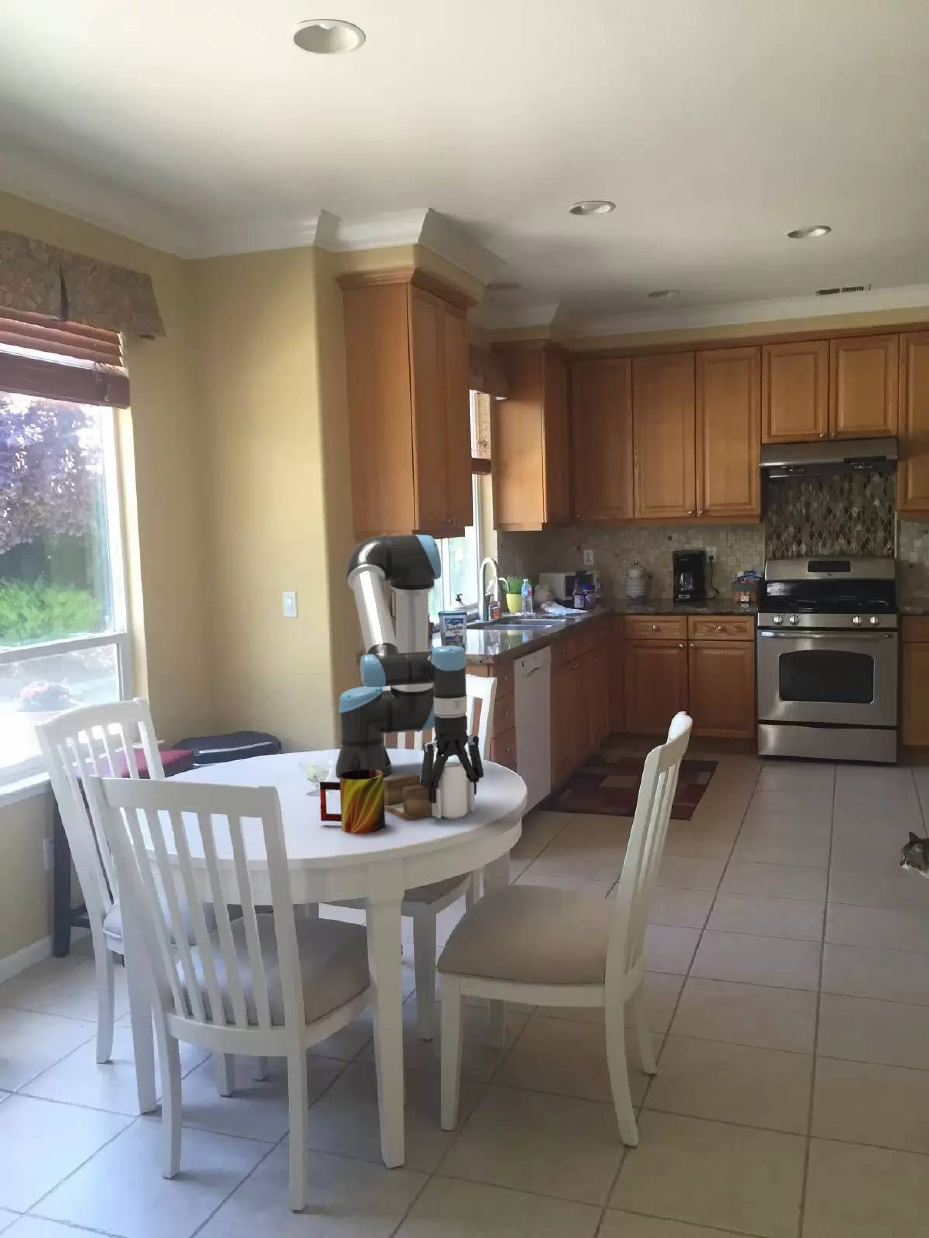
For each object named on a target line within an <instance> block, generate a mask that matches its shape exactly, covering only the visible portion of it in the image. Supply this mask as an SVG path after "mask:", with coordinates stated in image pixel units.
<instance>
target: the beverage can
mask: <svg viewBox="0 0 929 1238" xmlns="http://www.w3.org/2000/svg"><path fill="white" fill-rule="evenodd" d="M466 781H467V776H466V771H465V769H464V768H463V764H462V763H460V762H455V761H454V762H453V761H451V762H449V761H448V762H446V763H445V766H444V769H443V772H442V775H441V778H440V781H439V789H440V793H441V817H444V818H445V819H449V820H458V819H461V818H463V817H464V816H465V815H467V814H468V809H467V791H466Z"/></svg>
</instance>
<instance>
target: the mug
mask: <svg viewBox="0 0 929 1238" xmlns="http://www.w3.org/2000/svg"><path fill="white" fill-rule="evenodd" d="M383 779H384V777H383V772H382V771H379V770H373V769H359V770H351V771H347V772H344V773H341V774H340V778H339V781H320V782H319V791H320V792H319V795H320V804H319V805H320V806H319V807H320V808H319V809H320V821H321V822H338V823H339V822H341V831H342V832H344V833H347V834H353V835H354V834H355V835H358V834H359V835H363V834H364V835H365V834H373V833H377V832H380V831H383V830H384V829H385V827H386V816H385V815H386V814H385V813H386V811H385V808H384V782H383ZM327 791H339V793H340V813H328V811H327Z"/></svg>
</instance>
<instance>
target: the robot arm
mask: <svg viewBox="0 0 929 1238" xmlns="http://www.w3.org/2000/svg"><path fill="white" fill-rule="evenodd" d="M441 577H442V560H441V555H440V551H439V547H438V543H437V541H436V540H435V538H434V537H433V536H432V535H428V534H427V535H426V534H425V535H424V534H402V535H401V534H400V535H377V536H372V537H370V538H367V539H365V540H364V541H362V542H361V543H360V544H359V545H358V546H357V547H356V548H355V549H354V551H353V552H352V553H351V555H350V557H349V559H348V563H347V567H346V579H347V583H348V587H349V588H350V589H351V590H352V591H353V594H354V599H355V600H354V601H355V604H356V609H357V614H358V619H359V623H360V630H361V634H362V638H363V644H364V648H365V655H362V656H361V657H360V660H359V661H360V662H359V672H360V680H361V683H362V685H363V686H359V687H355V688H351V689H347V690H345V691H344V692H343V693H342V694H341V695H340V697H339V708H338V712H339V719H340V720H339V722H340V723H339V724H340V725H339V726H340V727H339V728H340V751H339V753H338V757H337V759H336V760H337V761H336V764H335V776H336V777H337V778H339V779H340V774H341V773H344V772H347V771H351V770H359V769H373V770H379V771H382V772H383V778H384V777H387V776H388V775H391V774H392V773H393V768H392V762H391V759H390V755H389V754H388V750H387V749H386V745H385V734H398V733H411V732H412V733H413V732H417V733H419V732H421V731H422V732H423V731H428V730H429V731H430V730H432V729H433V728H434V729H433V730H434V734H435V737H434V739H433V741H431V742H424V743H423V744H422V748H423V759H422V765H421V766H422V767H421V774H420V785H421V786H423V787H426V788H428V791H429V802H431V803H432V815H433V816H432V817H436V818H438V819H440V818H442V815H441V793H440V789H439V788H437V786H438V783H439V781H440V778H441V775H442V772H443V769H444V766H445V763H447V762H448V760H449V758H450V757H453V756H456V757H457V758H458V760H459V763H462V764H463V768H464V769H465V771H466V791H467V811H468V810H469V811H471V812H473V811H475V807H476V805H475V796H476V795H477V793H478V789H477V788H478V787H477V783H479V781H480V779H481V778H484V777H485V776H484V775H485V774H484V769H483V763H482V759H481V753H480V747H479V744H480V737H479V736H477V735H474V734H470V735H468V733H467V731H468V716H467V715H466V713H467V712H468V709H467V704H468V703H467V671H466V670H467V669H466V665H467V660H466V653H465V648H464V647H462V646H457V645H439V646H436V647H434V648H433V649H429V592H431V591H432V590H433V589H434V588H435V580H438V579H440V578H441ZM386 581H387V582H388V581H389V585H390V588H391V589H392V590H393V591H395V630H394V627H393V626H394V625H393V621H392V617H391V612H390V608H389V603H388V599H387V596H386V595H387V594H386V591H385V586H384V584H385V582H386ZM385 687H390V689H389V690H384V689H383V688H385ZM466 745H467V746H468V751H469V752H468V751H467V750H466V749H467V748H466ZM436 749H437V751H436ZM435 751H436V753H435ZM468 753H469V756H470V757H469V756H468ZM469 758H470V759H469ZM434 759H435V761H434Z"/></svg>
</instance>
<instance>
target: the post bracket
mask: <svg viewBox="0 0 929 1238" xmlns="http://www.w3.org/2000/svg"><path fill="white" fill-rule="evenodd" d="M383 782H384V808H385V812H388V813H390V814H392V815H394V816H397V817H399V818H401V819H403V820H405V821H413V820H418V819H419V820H420V819H422V818H423V819H424V818H427V817H434V816H433V815H432V803H431V802H429V791H428V788H426V787H423V786H421V785H420V782H421V774H418V773H409V774H403V775H398V776H393V777H392V776H391V777H386V778H383ZM437 788H439V783H438V786H437Z"/></svg>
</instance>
